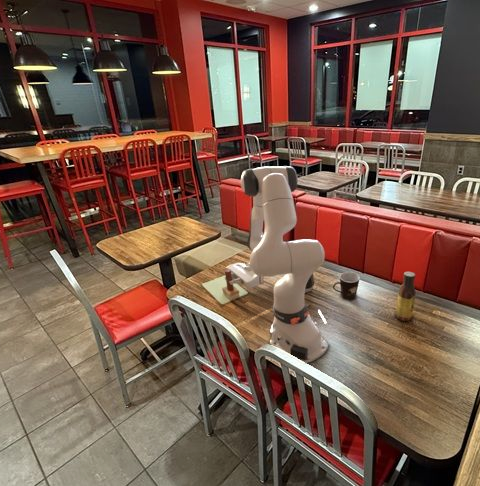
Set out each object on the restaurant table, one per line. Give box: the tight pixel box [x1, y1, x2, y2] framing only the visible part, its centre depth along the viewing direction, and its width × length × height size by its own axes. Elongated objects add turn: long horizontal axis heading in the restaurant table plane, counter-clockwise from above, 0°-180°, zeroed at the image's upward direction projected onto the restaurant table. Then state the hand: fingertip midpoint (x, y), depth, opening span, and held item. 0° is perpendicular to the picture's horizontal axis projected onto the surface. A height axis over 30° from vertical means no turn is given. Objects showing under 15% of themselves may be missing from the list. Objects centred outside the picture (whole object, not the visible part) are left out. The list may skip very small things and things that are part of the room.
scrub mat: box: [201, 274, 249, 305], centre depth 150 cm, size 22×14×1 cm, turn 36°
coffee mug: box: [332, 271, 361, 301], centre depth 139 cm, size 12×9×10 cm
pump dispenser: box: [305, 273, 315, 294], centre depth 144 cm, size 10×10×15 cm
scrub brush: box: [222, 268, 240, 301], centre depth 142 cm, size 7×5×13 cm
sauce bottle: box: [395, 271, 417, 322], centre depth 122 cm, size 6×6×20 cm
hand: (227, 280), depth 141 cm, fingers closed on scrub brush, 3 cm apart
